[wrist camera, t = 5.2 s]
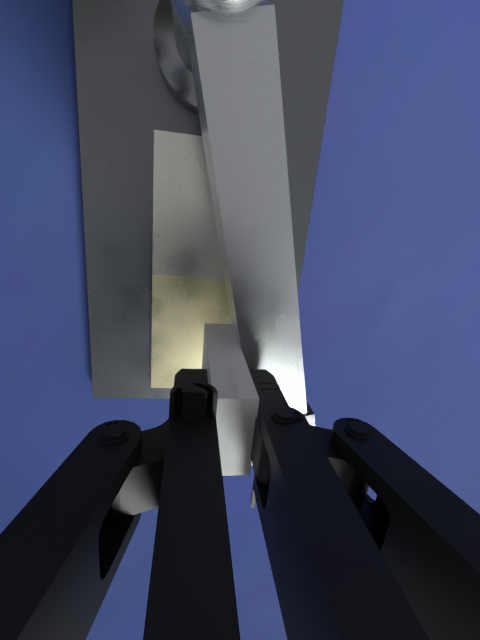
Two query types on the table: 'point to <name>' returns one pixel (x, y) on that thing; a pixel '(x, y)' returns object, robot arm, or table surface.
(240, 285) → the grey long bar
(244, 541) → the table surface
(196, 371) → the robot arm
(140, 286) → the plate
